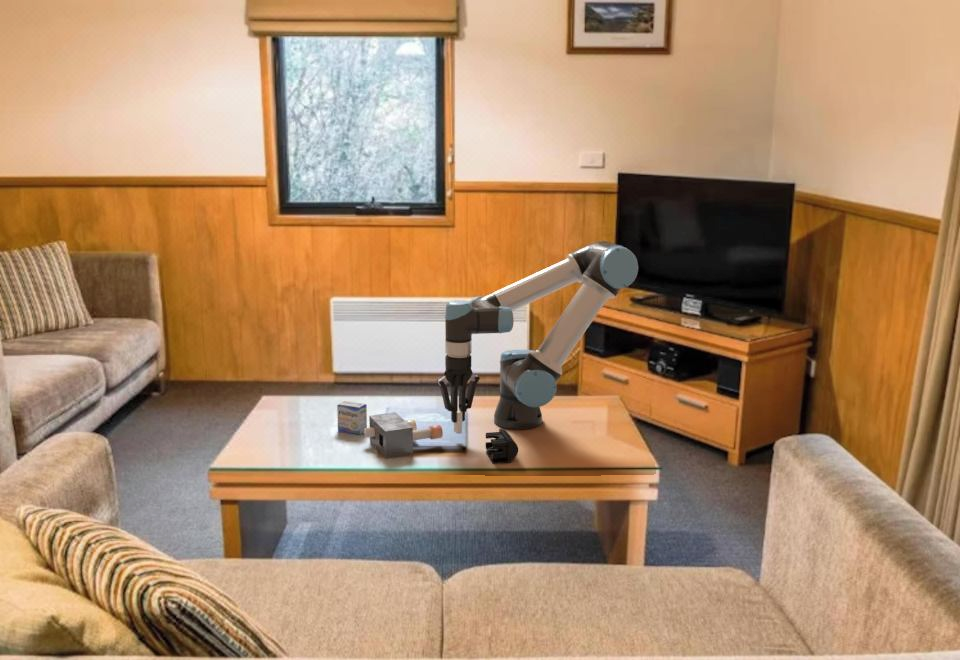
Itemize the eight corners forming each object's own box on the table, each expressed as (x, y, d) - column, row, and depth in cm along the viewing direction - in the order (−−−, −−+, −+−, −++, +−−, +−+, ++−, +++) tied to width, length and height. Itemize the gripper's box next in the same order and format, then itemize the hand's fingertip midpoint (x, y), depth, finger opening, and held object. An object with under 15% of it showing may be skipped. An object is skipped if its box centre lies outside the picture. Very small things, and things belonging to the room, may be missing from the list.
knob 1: (412, 430, 255) (411, 417, 254) (416, 434, 252) (416, 421, 251) (363, 437, 249) (363, 424, 248) (367, 441, 246) (367, 428, 245)
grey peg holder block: (395, 437, 255) (395, 412, 253) (412, 454, 242) (412, 427, 240) (369, 441, 251) (369, 415, 249) (386, 458, 239) (385, 431, 237)
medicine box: (337, 431, 260) (336, 404, 258) (345, 427, 264) (344, 400, 262) (360, 435, 257) (359, 407, 255) (367, 430, 261) (366, 403, 259)
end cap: (518, 462, 236) (518, 439, 235) (493, 464, 235) (493, 441, 233) (509, 450, 246) (509, 427, 244) (485, 451, 244) (485, 429, 243)
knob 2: (437, 435, 251) (437, 423, 250) (442, 439, 247) (442, 427, 246) (389, 442, 244) (388, 430, 244) (393, 447, 241) (393, 434, 240)
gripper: (473, 349, 252) (472, 425, 257) (432, 353, 246) (432, 431, 252) (484, 355, 245) (483, 433, 251) (442, 359, 240) (442, 439, 245)
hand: (458, 432), depth 251 cm, fingers closed
